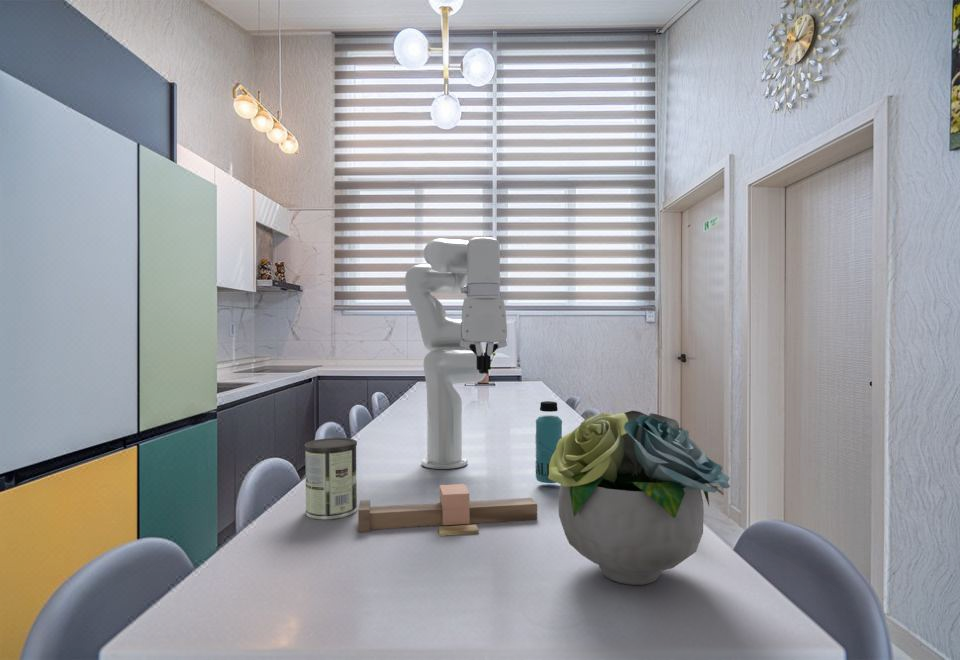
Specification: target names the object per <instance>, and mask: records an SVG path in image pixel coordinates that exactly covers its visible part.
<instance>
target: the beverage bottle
mask: <svg viewBox="0 0 960 660" xmlns="http://www.w3.org/2000/svg"><path fill="white" fill-rule="evenodd" d="M539 411H540V412H547V413H548V412H552V413H553V412H558V411H559V408H558V402H556V401H550V400H549V401H548V400H545V401H540V407H539ZM562 427H563V420H562V419H561V418H560V417H559V416H558V415H555V414H542V415H539V416H538V417H537V418H536V419H535V439H534V441H535V451H534V452H535V478H536V481H538V482H540V483H543V484H556V483H557V482H554V481H552V480H550V479H549V478H548V476H549V463H550V460H551V457H552V455H553V454H554V452H555V450H556V447H557V443H558V441H559V439H561V438H562V437H563V430H562V429H563V428H562ZM557 484H558V483H557Z"/></svg>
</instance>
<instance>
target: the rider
mask: <svg viewBox="0 0 960 660" xmlns="http://www.w3.org/2000/svg"><path fill="white" fill-rule="evenodd" d="M469 501H470V492H469V490H468V487H467V486H466V484H465V483H460V484H458V483H456V484H439V503H441V505H442V520H443V525H442V526H458V525H471V523H470V512H469Z"/></svg>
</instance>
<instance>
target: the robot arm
mask: <svg viewBox="0 0 960 660" xmlns="http://www.w3.org/2000/svg"><path fill="white" fill-rule="evenodd" d="M500 246H501V245H500V242H499V240H498V239H496V238H493V237H489V236H487V237H486V236H484V237H482V236H481V237H473V238H470V239H469V240H464V239H455V238H454V239H453V238H450V239H449V238H436V239H435V238H434V239H432V240H431V241H428V242H427V244H426V245H425V247H424V249H423V258H424V261H425V262H426V264H416V265H413V266H412V267H409V268H408V270H407V271H406V273H405V276H404V277H405V278H404V285H405V286H404V288H405V292H406V295H407V298H408V301H409V303H410V305H411V307H412V308H413V311H414V312H415V314H416V317H417V322H418V326H419V330H420V335H421V339H422V343H423V345H424V347H425V349H426V350H427V351H429V352H427V354H426V355H425V356H424V358H423V373H424V377H425V378H424V379H425V385H426V415H427V416H426V427H427V429H426V434H427V435H426V436H427V437H426V440H427V441H426V443H427V444H426V445H427V446H426V447H427V449H426V450H427V451H426V452H427V455H426V457H424V458H422V459H421V465H422V466H423V467H425V468H428V469H434V470H436V469H437V470H452V469H459V468H463V467H465V466H466V465H468V458H467V457H466V456H465V457H464V456H463V452H462V451H463V450H462V449H463V444H462V443H463V441H462V440H463V438H462V437H463V433H462V432H463V431H462V430H463V429H462V426H463V421H462V420H463V419H462V417H463V416H462V415H463V414H462V413H463V412H462V411H463V408H462V406H463V405H462V403H463V402H462V398H461V396H460V394H459V392H458V391H457V390H456V388H455V387H454V385H455V384H456V385H457V384H472V383H474V384H475V383H478V382H482V381H483V380H484V379H485V378H486V376H487V374H489V371H490V370H491V368H492V367H491V365H492V363H491V361H492V359H491V357H492V355H493V354H494V353H495V352H496V351H497V350H498V349H501V348H502V349H503V348H506V347H507V346H508V343H507V338H508V326H507V314H506V313H507V312H506V306H505V305H506V304H505V301H504V298H501V297H500V296H501V293H500V292H501V291H500V290H501V289H500V288H501V286H500V285H501V284H500V283H501V279H500V277H501V273H500V270H501V268H500V267H501V266H500V265H501V261H500V260H501V259H500V258H501V257H500V255H501V254H500V253H501V249H500V248H501V247H500ZM458 293H460V294H464V295H465V296H466V297H465V298H464V299H463V302H462V309H461V310H462V311H461V317H460V318H459V319H455V318H454V319H453V318H450V317H449V318H448V316H447V312H446V309H445V306H444V305H443V303H441V302H440V300H439V299H437V297H435V296H433V295H432V294H450V295H451V294H458ZM482 343H485V350H484V349H483V345H482Z"/></svg>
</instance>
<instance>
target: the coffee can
mask: <svg viewBox="0 0 960 660" xmlns="http://www.w3.org/2000/svg"><path fill="white" fill-rule="evenodd" d="M357 443H358V441H357V440H356V439H353V438H349V437H329V438H320V439H315V440H314V439H313V440H310V441H308V442H306V443H305V444H304V449H305V451H304V452H305V454H304V456H305V458H304V459H305V461H304V462H305V516H307V517H308V518H310V519H314V520H325V521H326V520H335V519H342V518H346V517H350V516H351V515H353V514H355V513H356V512H358V507H357V506H358V505H357V504H358V502H357V501H358V500H357V497H358V496H357V495H358V492H357V491H358V489H357V445H358V444H357Z"/></svg>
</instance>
